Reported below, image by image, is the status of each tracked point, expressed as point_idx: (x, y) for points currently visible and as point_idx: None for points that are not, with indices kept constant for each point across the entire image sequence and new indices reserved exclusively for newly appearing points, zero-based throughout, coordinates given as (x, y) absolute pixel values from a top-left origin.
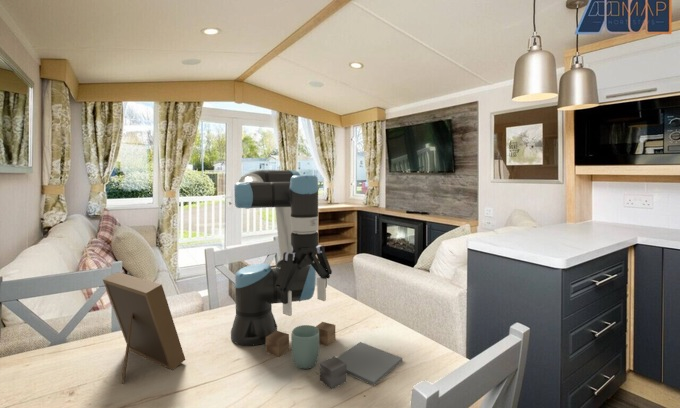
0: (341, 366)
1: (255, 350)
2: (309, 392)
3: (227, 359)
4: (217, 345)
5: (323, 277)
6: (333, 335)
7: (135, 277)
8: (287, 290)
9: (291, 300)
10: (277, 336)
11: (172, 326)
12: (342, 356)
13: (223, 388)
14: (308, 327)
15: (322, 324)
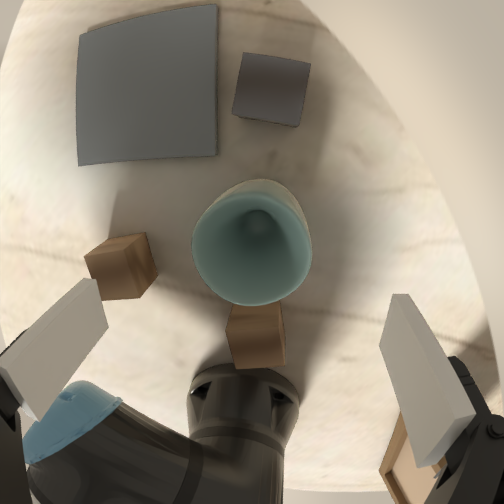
0: (266, 55)
1: (293, 359)
2: (353, 117)
3: (356, 371)
4: (324, 416)
5: (2, 386)
6: (108, 243)
7: None
8: (499, 423)
9: (428, 358)
10: (259, 346)
11: (442, 463)
12: (165, 146)
13: (439, 296)
14: (208, 272)
15: (110, 290)
